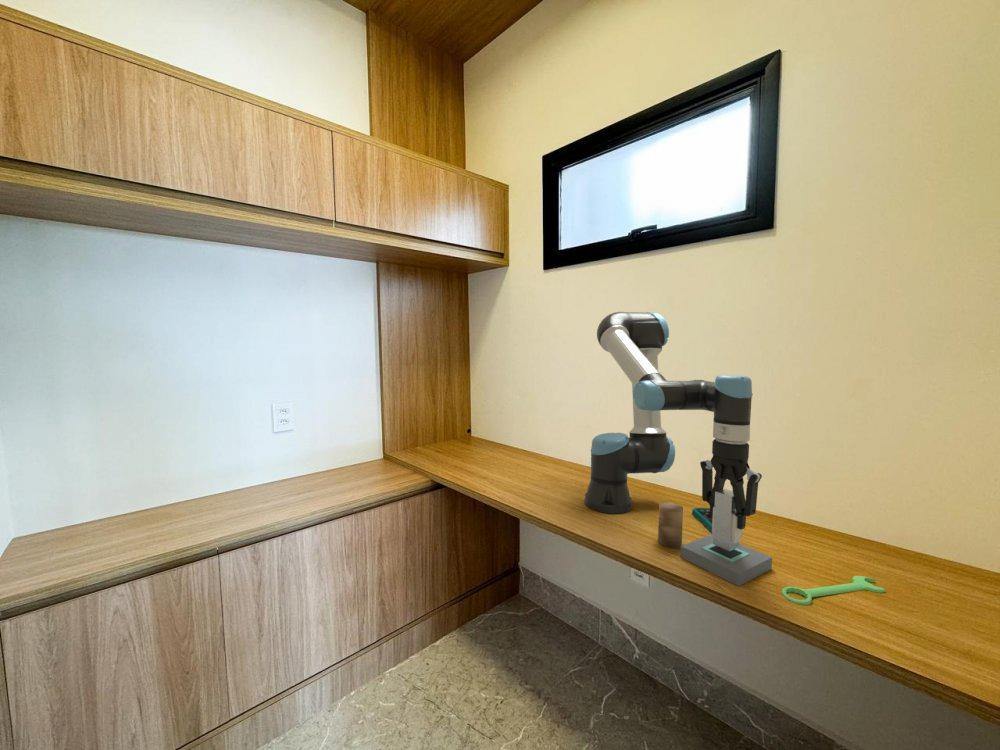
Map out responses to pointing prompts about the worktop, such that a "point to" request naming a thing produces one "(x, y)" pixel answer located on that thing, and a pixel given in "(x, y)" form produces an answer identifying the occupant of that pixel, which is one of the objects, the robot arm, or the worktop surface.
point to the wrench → (832, 589)
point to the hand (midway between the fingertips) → (726, 536)
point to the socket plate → (727, 560)
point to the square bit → (724, 519)
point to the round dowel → (670, 525)
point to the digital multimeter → (703, 517)
